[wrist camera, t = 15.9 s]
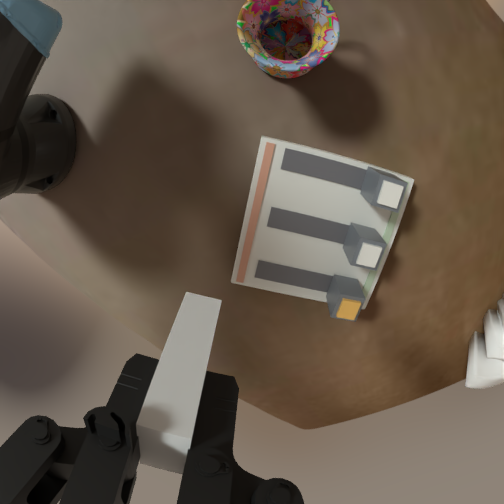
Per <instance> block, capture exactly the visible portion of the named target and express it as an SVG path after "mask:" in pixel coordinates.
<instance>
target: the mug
mask: <svg viewBox="0 0 504 504" xmlns="http://www.w3.org/2000/svg"><path fill="white" fill-rule="evenodd" d="M329 1H330V0H247V1H246V2H245V3H244V5H243V6H242V8H241V10H240V12H239V15H238V20H237V31H238V36H239V39H240V42H241V44H242V45H243V47H244V49H245V50H246V51H247V52H248V54H249V55H250V56H251V57H252V58H253V60H254V62H255V63H256V64H257V66H258V67H259V68H261V69H262V70H263V71H264V72H266V73H268V74H270V75H272V76H275V77H279V78H295V77H299V76H301V75H304V74H306V73H307V72H309V71H310V70H311V69H312V68H313V67H315V66H317V65H319V64H321V63H322V62H323V61H325V60H326V59H327V58H328V57H329V56H330V55H331V54H332V52H333V51H334V49H335V48H336V46H337V43H338V40H339V35H340V25H339V21H338V17H337V15H336V13H335V11H334V9H333V8H332V6H331V5H330V4H329Z"/></svg>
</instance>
